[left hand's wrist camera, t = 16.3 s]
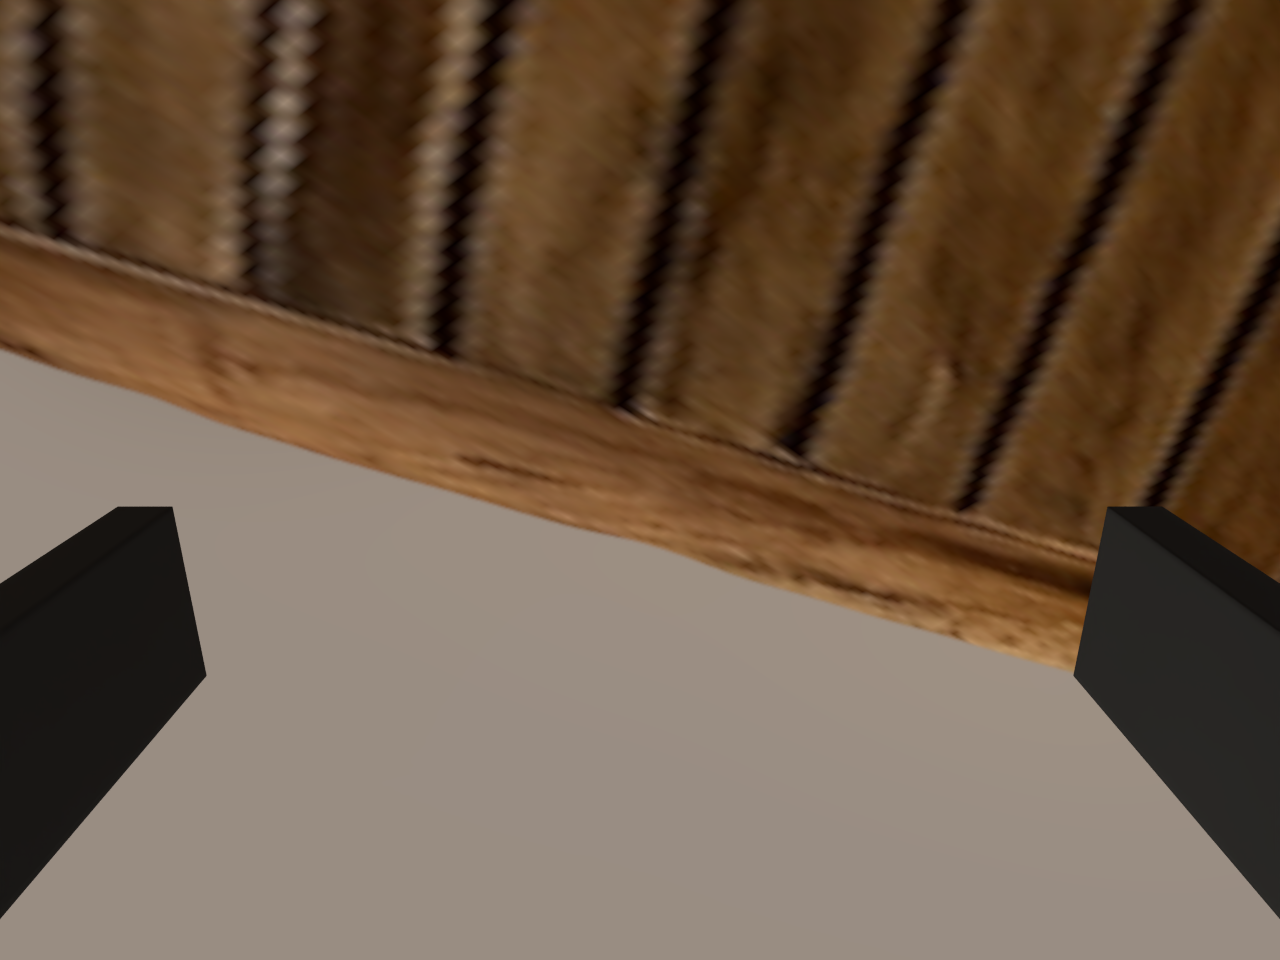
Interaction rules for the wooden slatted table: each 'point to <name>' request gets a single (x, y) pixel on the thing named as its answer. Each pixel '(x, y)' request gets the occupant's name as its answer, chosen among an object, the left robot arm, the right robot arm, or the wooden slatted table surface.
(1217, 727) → the left robot arm
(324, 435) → the wooden slatted table surface
